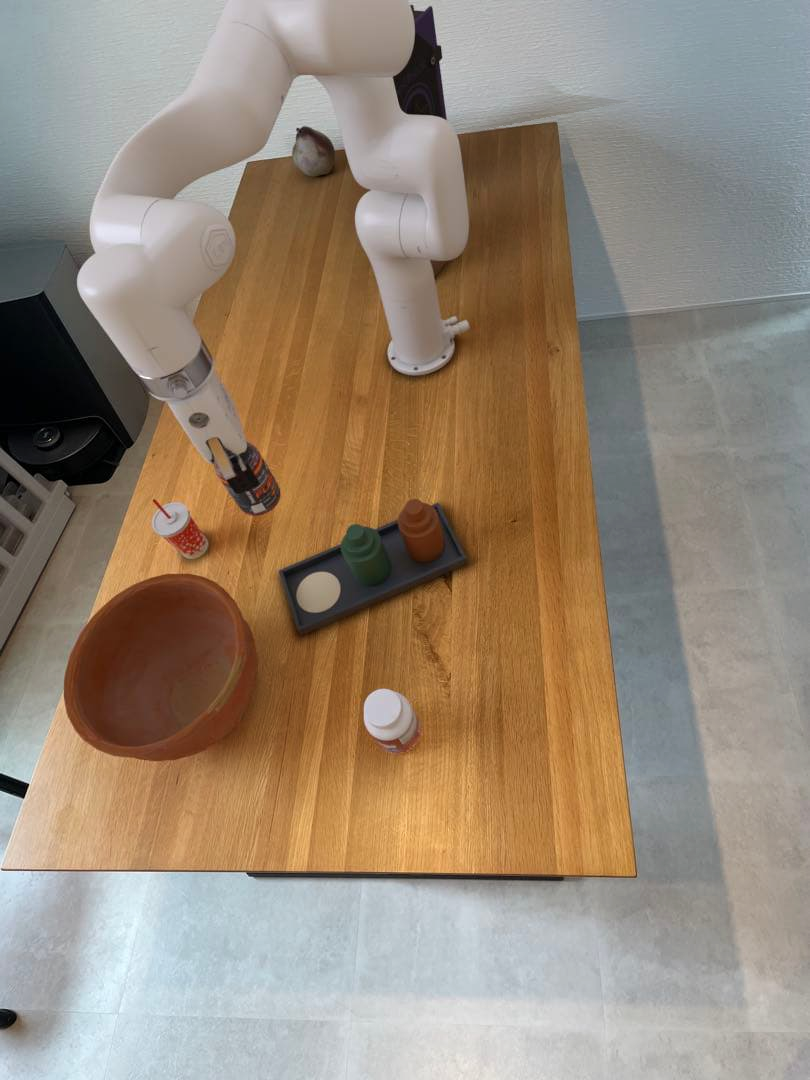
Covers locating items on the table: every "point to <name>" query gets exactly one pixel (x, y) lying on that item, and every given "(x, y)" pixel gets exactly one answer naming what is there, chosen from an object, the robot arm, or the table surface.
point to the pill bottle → (391, 721)
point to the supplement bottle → (260, 496)
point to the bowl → (161, 670)
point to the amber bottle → (421, 531)
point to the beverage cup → (179, 529)
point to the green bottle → (366, 555)
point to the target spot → (318, 592)
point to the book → (422, 71)
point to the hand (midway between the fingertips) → (241, 467)
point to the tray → (360, 596)
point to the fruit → (313, 152)
